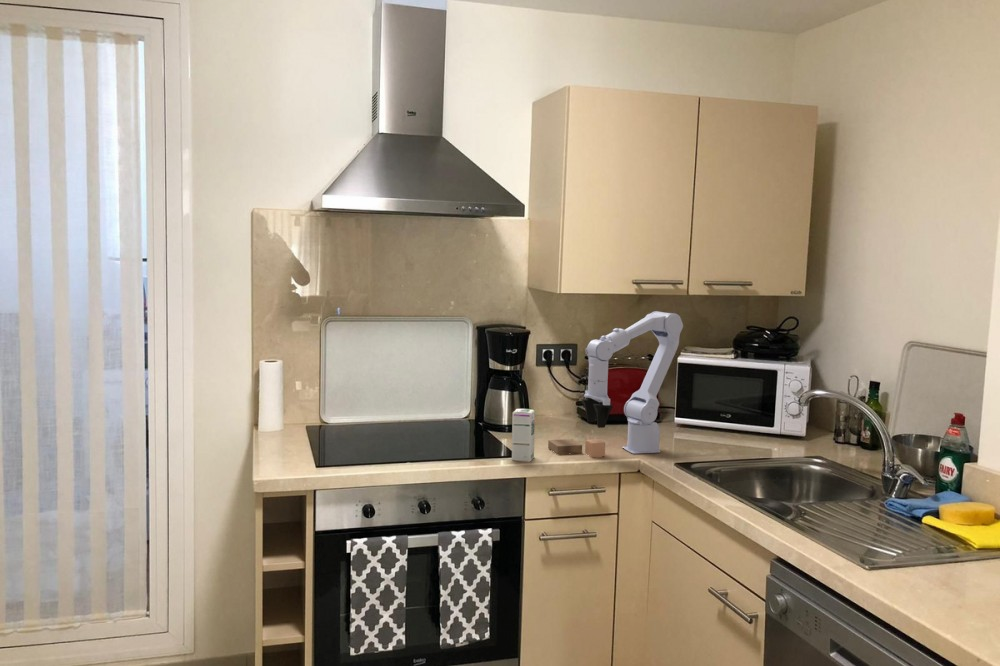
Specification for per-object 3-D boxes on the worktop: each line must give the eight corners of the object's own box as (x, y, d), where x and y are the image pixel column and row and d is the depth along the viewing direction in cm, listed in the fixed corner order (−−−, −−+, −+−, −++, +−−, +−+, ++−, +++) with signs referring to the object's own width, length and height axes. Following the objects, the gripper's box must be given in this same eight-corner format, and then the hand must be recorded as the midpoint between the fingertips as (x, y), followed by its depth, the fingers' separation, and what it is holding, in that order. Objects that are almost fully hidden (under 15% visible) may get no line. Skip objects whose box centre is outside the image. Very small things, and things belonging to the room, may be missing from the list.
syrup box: (530, 462, 241) (532, 412, 240) (510, 460, 243) (512, 411, 241) (534, 457, 247) (535, 409, 246) (514, 455, 248) (515, 407, 247)
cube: (598, 453, 254) (599, 439, 254) (604, 457, 250) (605, 442, 250) (585, 454, 253) (585, 439, 253) (590, 458, 249) (591, 443, 248)
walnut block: (572, 448, 261) (572, 439, 261) (581, 454, 254) (582, 445, 253) (548, 449, 259) (548, 440, 258) (557, 456, 251) (557, 446, 251)
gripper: (576, 376, 255) (574, 420, 256) (595, 384, 241) (593, 430, 242) (597, 376, 257) (595, 419, 258) (617, 383, 243) (615, 429, 244)
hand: (596, 424), depth 251 cm, fingers open, 7 cm apart
